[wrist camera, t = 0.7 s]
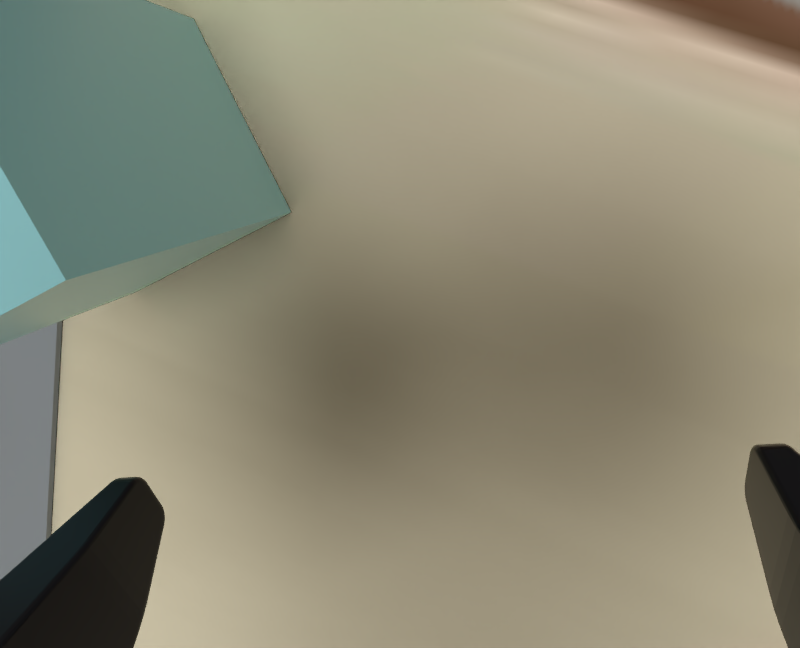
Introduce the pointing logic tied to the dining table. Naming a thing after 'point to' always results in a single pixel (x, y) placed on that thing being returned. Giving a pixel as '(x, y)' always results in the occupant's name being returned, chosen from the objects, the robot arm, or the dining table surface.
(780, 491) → the robot arm
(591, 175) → the dining table surface
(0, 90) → the teal rectangular block
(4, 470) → the slate mat
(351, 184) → the dining table surface
